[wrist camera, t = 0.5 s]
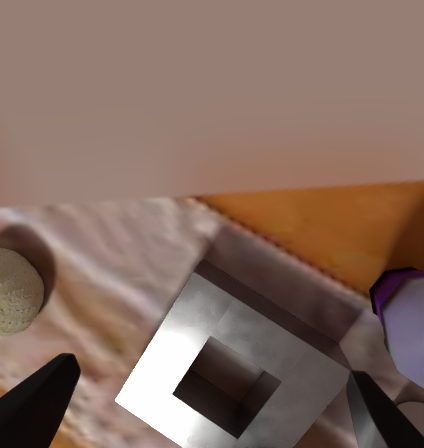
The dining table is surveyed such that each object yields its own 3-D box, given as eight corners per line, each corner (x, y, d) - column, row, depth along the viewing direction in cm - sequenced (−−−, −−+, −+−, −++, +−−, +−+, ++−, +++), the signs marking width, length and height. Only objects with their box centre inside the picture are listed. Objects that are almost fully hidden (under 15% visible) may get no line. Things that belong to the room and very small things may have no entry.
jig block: (253, 452, 28) (253, 495, 24) (134, 371, 29) (115, 400, 25) (338, 344, 25) (354, 373, 21) (202, 258, 26) (193, 271, 22)
